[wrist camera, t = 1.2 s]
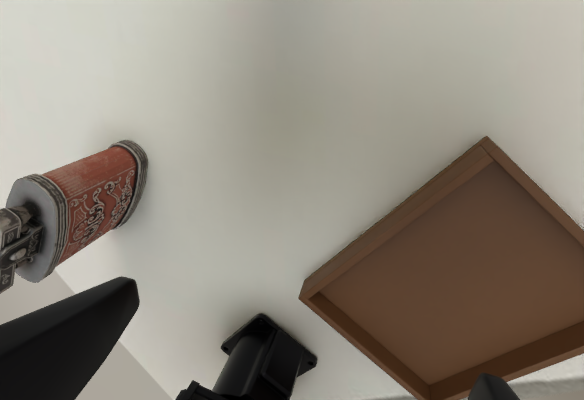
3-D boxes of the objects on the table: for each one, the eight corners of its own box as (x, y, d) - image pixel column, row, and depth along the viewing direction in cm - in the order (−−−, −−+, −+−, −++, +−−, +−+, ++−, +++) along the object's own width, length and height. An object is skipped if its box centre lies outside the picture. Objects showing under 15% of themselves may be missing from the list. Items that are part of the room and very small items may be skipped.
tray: (427, 385, 26) (430, 410, 24) (304, 280, 24) (297, 298, 23) (647, 293, 18) (674, 320, 16) (486, 135, 17) (497, 146, 15)
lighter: (116, 130, 23) (-51, 184, 14) (156, 157, 23) (14, 228, 14) (93, 209, 27) (-48, 288, 18) (127, 232, 27) (3, 322, 18)
